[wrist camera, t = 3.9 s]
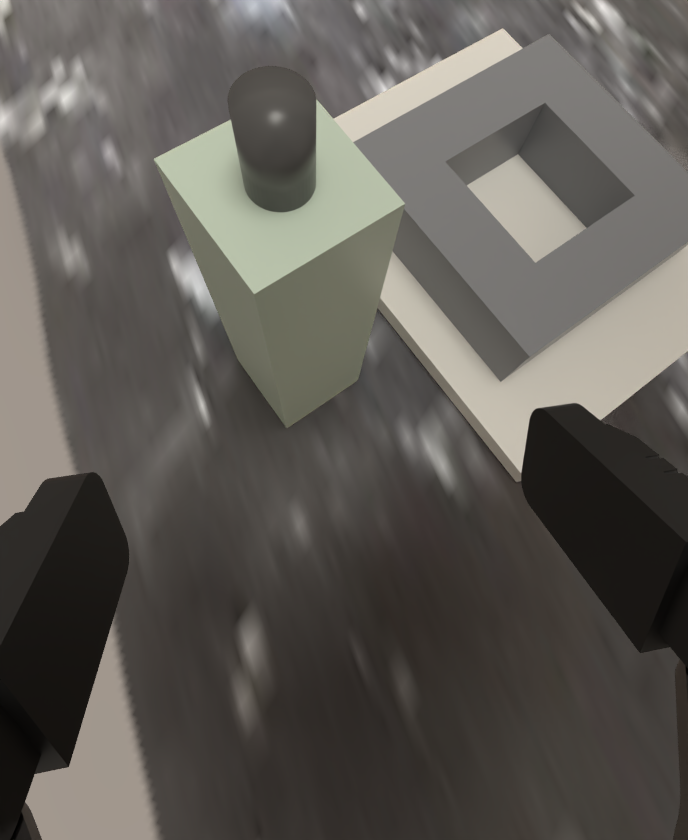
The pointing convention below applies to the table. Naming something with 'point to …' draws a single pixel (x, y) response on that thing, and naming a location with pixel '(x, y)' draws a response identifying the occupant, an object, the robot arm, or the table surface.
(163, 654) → the table surface
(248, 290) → the plug
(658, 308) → the plate
